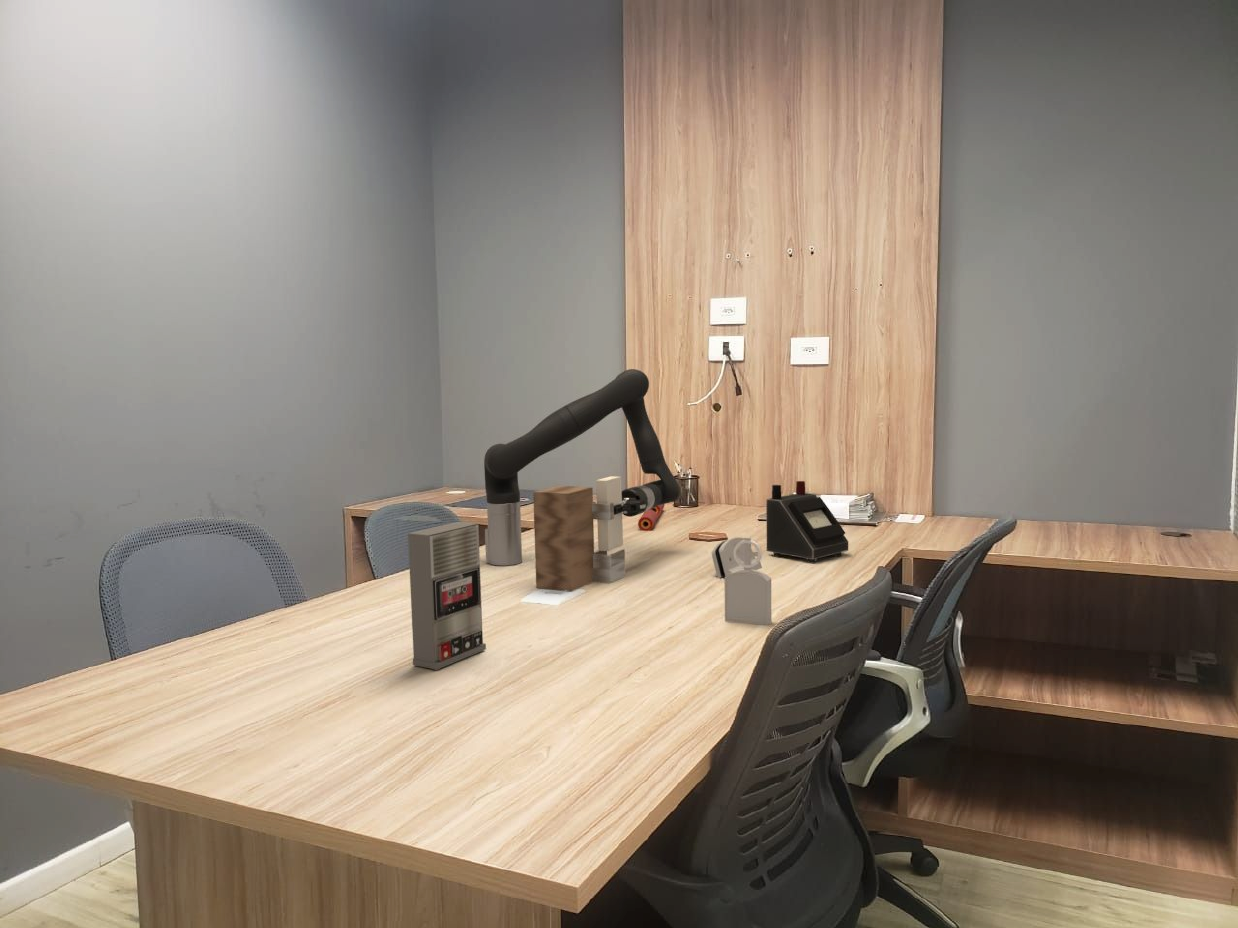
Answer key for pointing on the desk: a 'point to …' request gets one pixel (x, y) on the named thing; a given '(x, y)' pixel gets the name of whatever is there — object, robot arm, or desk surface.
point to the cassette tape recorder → (445, 594)
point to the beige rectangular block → (613, 529)
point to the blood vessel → (650, 518)
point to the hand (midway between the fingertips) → (606, 510)
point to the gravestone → (748, 589)
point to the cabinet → (571, 540)
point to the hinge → (729, 557)
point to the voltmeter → (802, 526)
